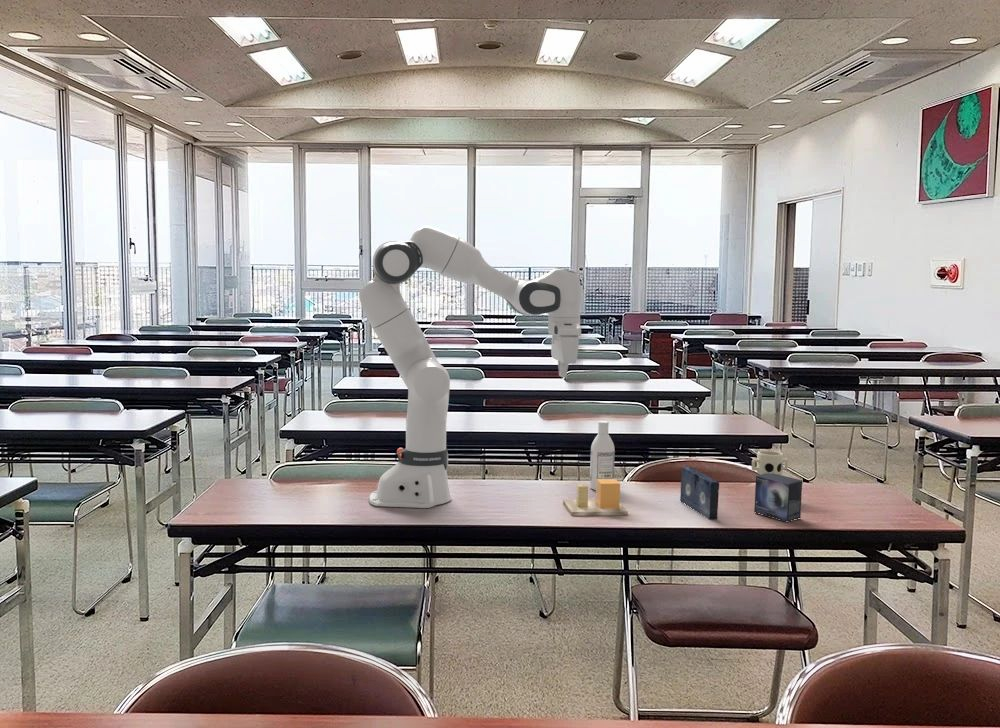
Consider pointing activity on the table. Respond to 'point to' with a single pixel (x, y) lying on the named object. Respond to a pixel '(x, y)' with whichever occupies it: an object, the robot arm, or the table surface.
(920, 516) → the table surface
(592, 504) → the birch board
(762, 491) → the small box
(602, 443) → the bath foam
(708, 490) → the vhs cassette tape
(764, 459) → the character mug
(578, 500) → the brass post
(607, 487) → the tall orange prism
